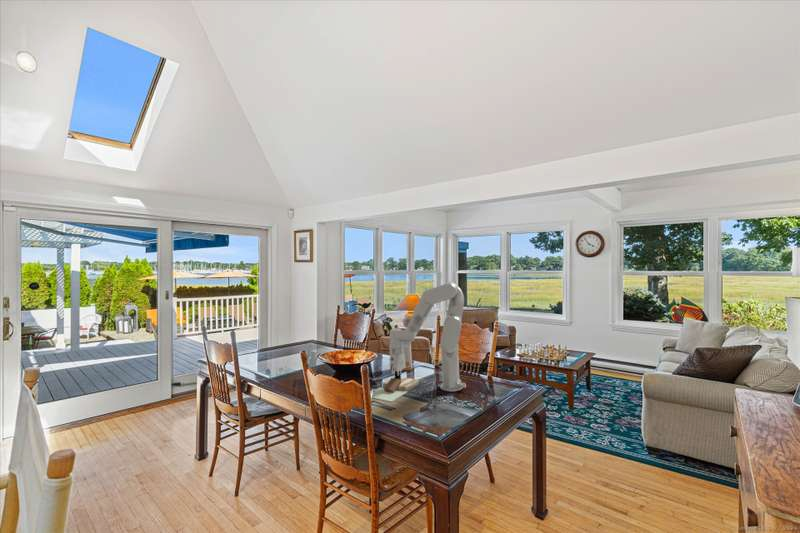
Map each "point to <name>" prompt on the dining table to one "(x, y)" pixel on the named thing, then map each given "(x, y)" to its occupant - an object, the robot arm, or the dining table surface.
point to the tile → (392, 385)
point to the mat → (387, 394)
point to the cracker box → (407, 356)
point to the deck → (405, 384)
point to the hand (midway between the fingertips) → (397, 381)
